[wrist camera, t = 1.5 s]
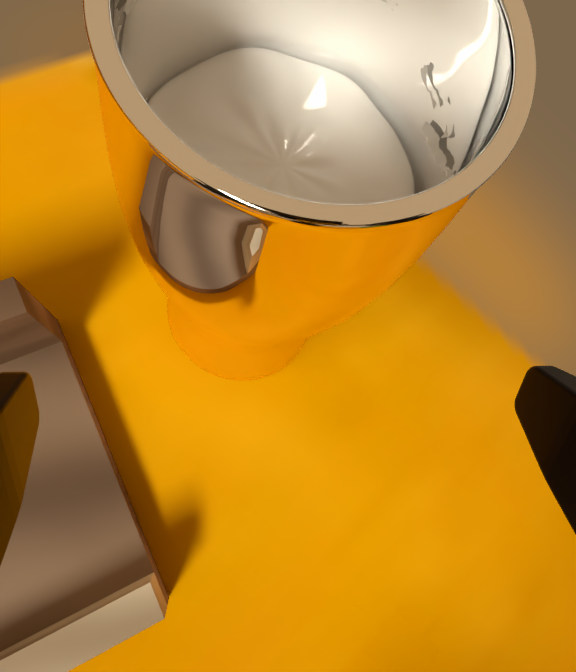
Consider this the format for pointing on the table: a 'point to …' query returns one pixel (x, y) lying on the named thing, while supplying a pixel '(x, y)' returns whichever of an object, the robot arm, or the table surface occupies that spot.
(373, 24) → the beer glass
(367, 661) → the table surface
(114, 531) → the grey bracket
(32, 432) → the robot arm
